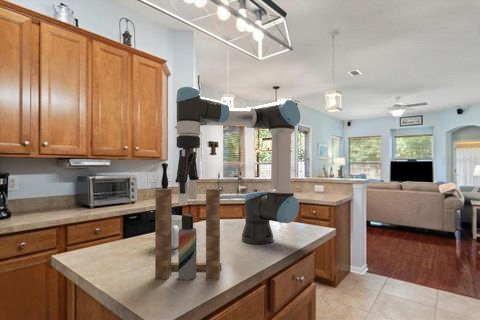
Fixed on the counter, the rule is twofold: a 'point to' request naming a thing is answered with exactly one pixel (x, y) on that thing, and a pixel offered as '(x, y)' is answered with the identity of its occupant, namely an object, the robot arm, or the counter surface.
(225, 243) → the counter surface
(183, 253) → the lotion bottle
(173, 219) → the mug
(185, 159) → the robot arm
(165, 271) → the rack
